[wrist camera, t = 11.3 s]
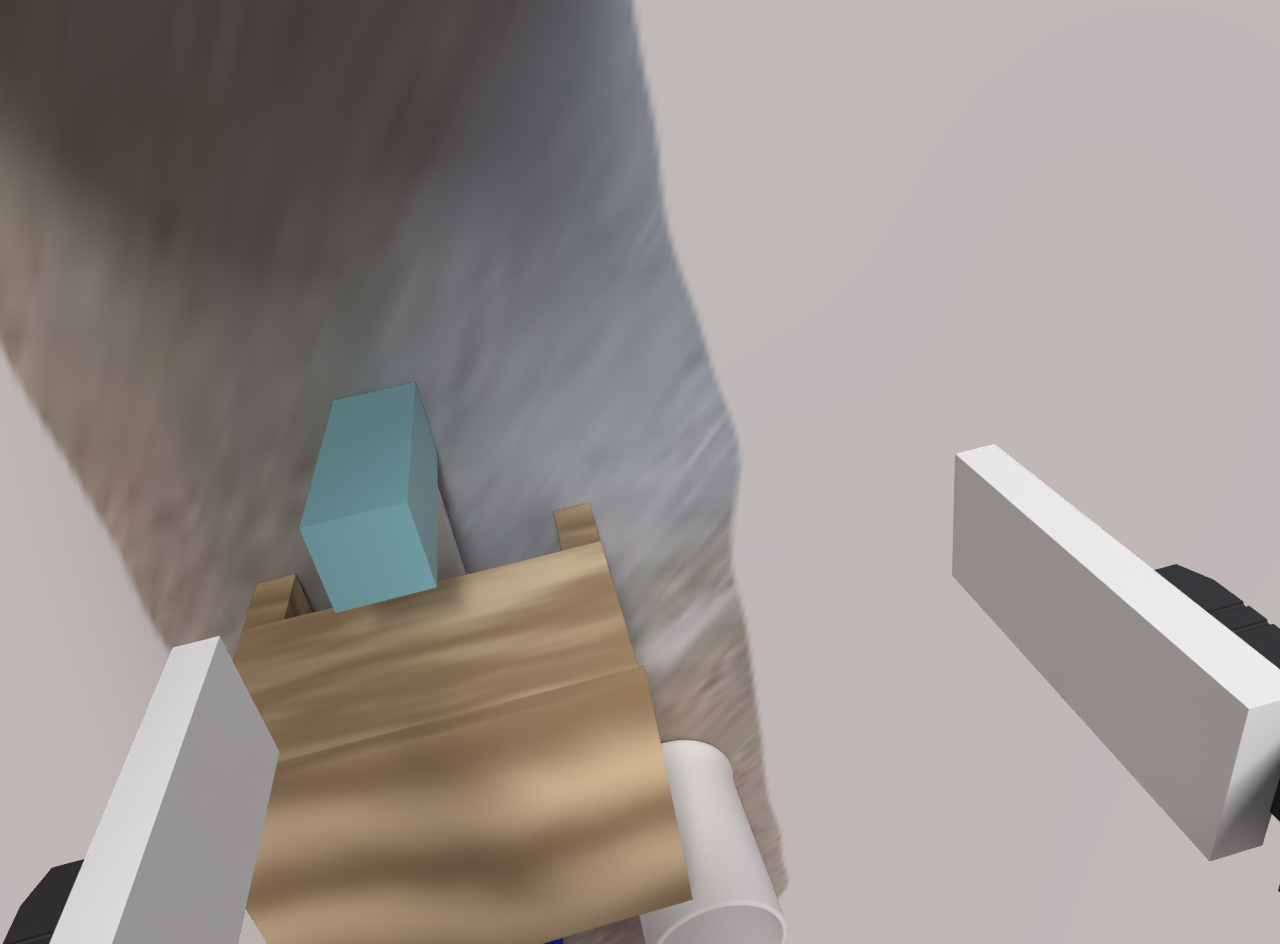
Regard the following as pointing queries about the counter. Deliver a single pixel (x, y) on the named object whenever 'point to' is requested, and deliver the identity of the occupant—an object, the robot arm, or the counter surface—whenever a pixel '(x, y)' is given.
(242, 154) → the counter surface
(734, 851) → the mug
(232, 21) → the counter surface
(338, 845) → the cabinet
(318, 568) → the teal cube mallet
